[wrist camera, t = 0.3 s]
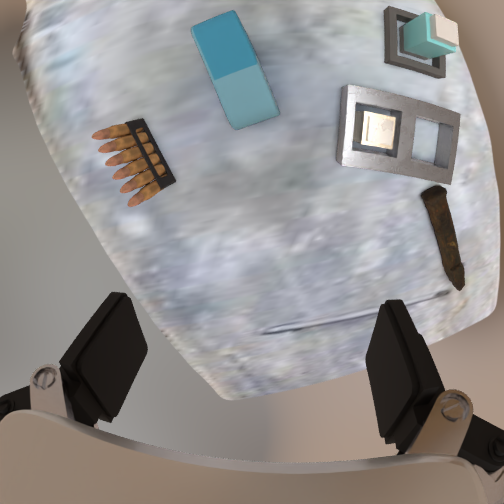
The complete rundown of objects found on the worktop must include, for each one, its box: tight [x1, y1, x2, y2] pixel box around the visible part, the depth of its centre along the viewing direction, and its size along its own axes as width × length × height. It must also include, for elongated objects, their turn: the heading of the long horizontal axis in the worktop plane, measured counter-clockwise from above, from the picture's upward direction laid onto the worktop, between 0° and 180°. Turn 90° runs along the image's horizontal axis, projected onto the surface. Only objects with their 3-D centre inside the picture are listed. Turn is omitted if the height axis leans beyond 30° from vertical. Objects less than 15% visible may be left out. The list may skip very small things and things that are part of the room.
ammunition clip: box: [92, 118, 176, 207], centre depth 32 cm, size 11×2×12 cm, turn 26°
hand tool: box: [421, 185, 465, 291], centre depth 37 cm, size 19×4×5 cm, turn 30°
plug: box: [399, 12, 459, 60], centre depth 22 cm, size 4×4×10 cm
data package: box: [191, 10, 280, 130], centre depth 26 cm, size 12×4×12 cm, turn 21°
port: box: [336, 84, 461, 185], centre depth 30 cm, size 10×16×5 cm, turn 88°
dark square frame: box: [384, 6, 446, 79], centre depth 25 cm, size 8×8×2 cm
